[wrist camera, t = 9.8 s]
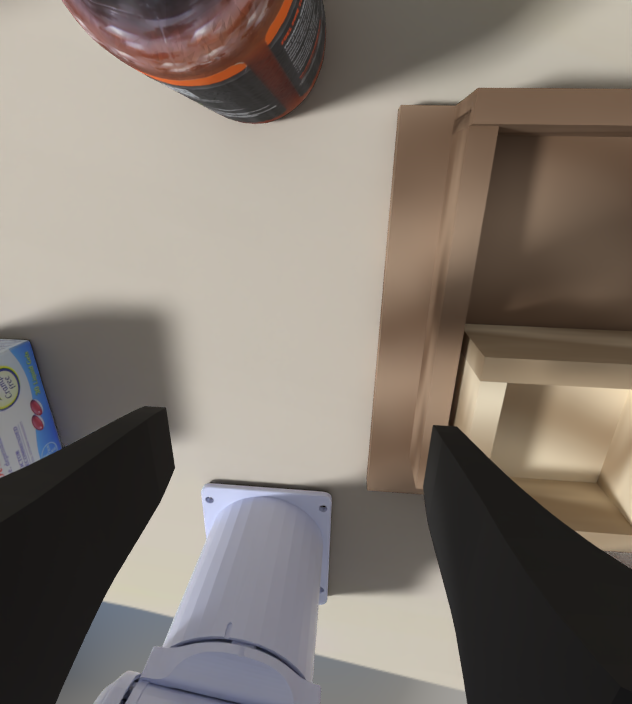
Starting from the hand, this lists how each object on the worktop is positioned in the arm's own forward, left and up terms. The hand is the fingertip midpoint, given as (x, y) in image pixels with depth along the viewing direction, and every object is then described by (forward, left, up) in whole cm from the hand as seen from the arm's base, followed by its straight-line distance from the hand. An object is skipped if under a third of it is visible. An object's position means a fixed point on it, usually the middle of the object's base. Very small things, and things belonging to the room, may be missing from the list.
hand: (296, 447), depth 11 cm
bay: (0, -11, -10) cm, 15 cm away
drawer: (-5, -11, -9) cm, 15 cm away
